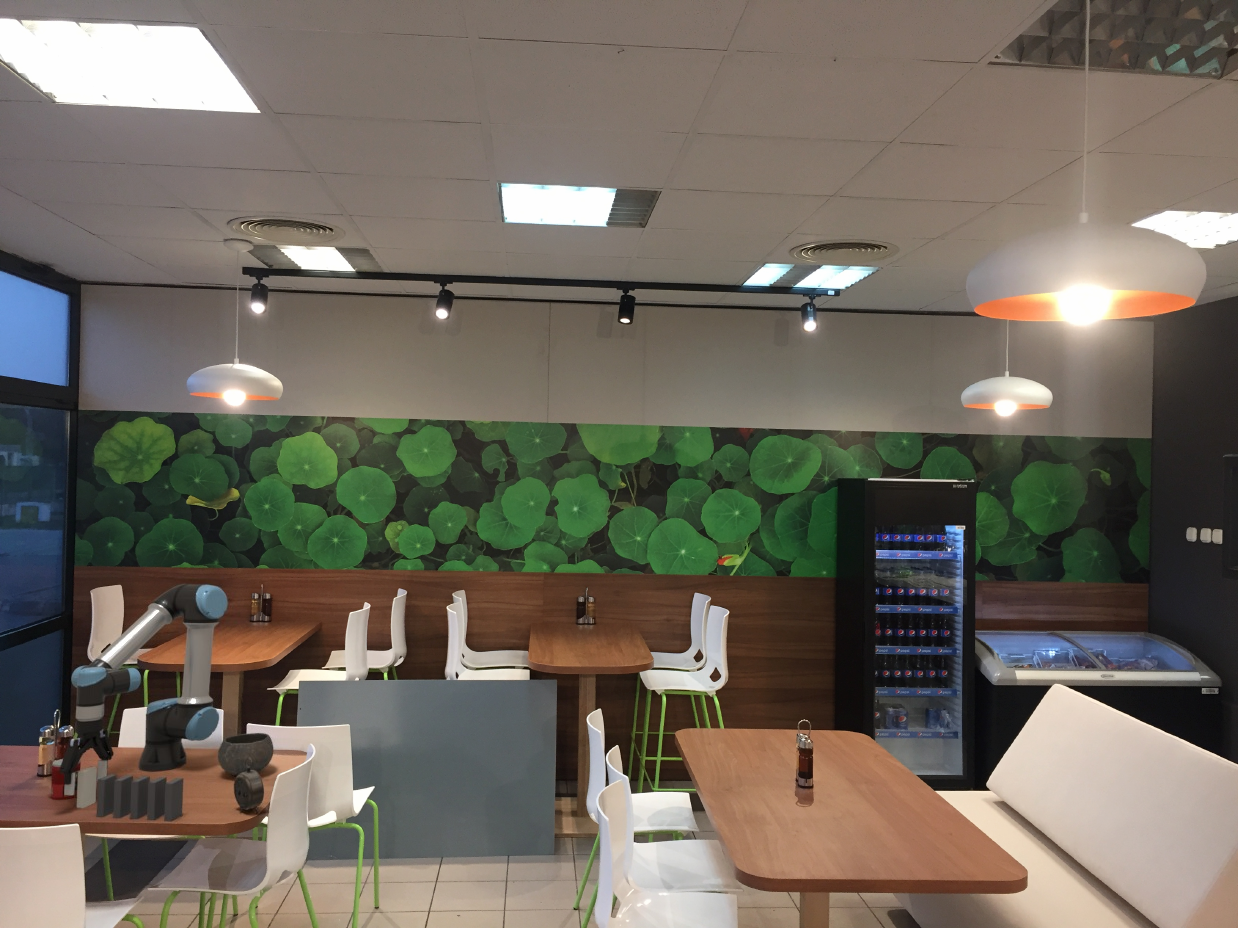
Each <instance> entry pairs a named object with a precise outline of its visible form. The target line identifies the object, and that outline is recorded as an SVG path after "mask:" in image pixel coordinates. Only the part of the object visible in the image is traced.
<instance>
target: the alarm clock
mask: <svg viewBox="0 0 1238 928" xmlns="http://www.w3.org/2000/svg"><path fill="white" fill-rule="evenodd" d="M247 759H250V761H251V766H252V760H251V758H247ZM247 759H246V761H247ZM245 763H246V762H245ZM246 767H247V764H246ZM250 768H251V767H247V771H246V772H243V773H240V774H239V775H238V776H235V779H234V783H233V793H234V794H233V796H234V798H235V800H236V803H237V804H238V806H239V807H240V810H239V814H241V813H242V811H243V810H246V811H247V810H251V809H254V810H255V814H257V815H258V814H259V811H258V807H260V806H261V804H262V803H263V801H264V798H265V797H264V796H265V788H264V783H263V782H264V781H263V780H262V778H261V775H260V773H259V772H257V771H255V770H250Z"/></svg>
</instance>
